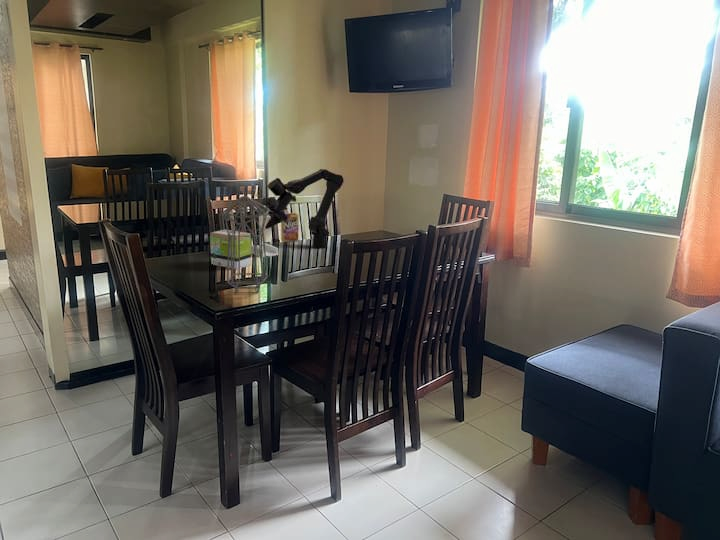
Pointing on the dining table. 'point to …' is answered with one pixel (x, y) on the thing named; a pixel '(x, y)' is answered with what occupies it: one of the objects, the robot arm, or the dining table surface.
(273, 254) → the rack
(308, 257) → the dining table surface
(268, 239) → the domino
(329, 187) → the robot arm
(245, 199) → the geometric lantern
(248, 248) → the tea box
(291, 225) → the candy box
